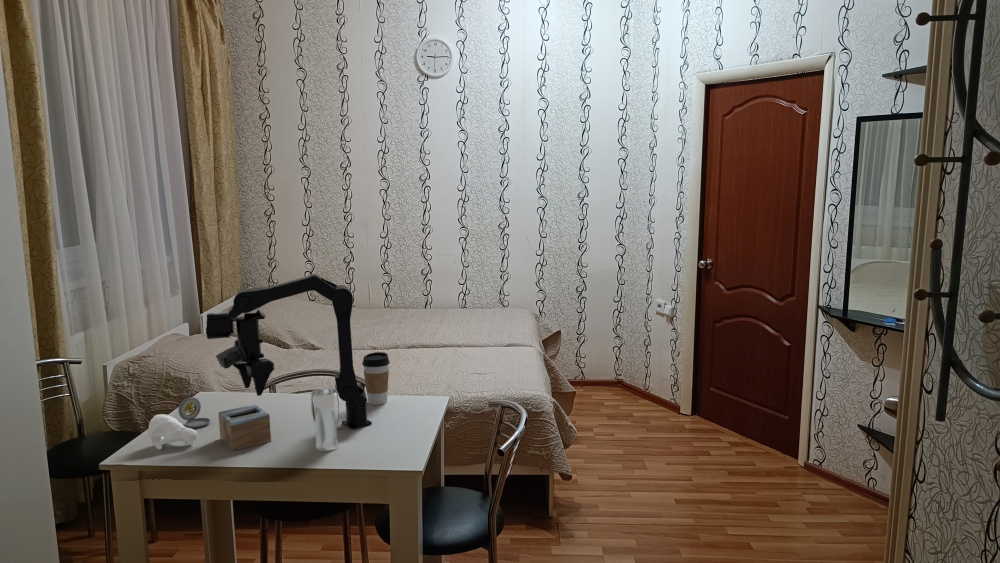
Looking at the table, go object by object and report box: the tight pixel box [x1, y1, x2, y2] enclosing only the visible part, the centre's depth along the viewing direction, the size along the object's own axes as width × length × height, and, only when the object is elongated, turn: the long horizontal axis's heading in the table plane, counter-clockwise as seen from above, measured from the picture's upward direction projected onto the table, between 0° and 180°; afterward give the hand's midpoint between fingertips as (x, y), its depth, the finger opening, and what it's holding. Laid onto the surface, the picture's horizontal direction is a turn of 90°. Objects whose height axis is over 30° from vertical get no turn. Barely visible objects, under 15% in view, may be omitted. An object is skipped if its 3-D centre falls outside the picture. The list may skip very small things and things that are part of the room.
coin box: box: [217, 404, 272, 451], centre depth 196 cm, size 11×10×8 cm
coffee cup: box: [361, 351, 390, 406], centre depth 226 cm, size 8×8×15 cm
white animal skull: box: [147, 413, 198, 451], centre depth 193 cm, size 6×8×12 cm
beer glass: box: [310, 387, 340, 452], centre depth 189 cm, size 7×7×15 cm
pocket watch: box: [177, 388, 211, 429], centre depth 209 cm, size 8×8×10 cm
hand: (253, 391), depth 199 cm, fingers open, 9 cm apart
